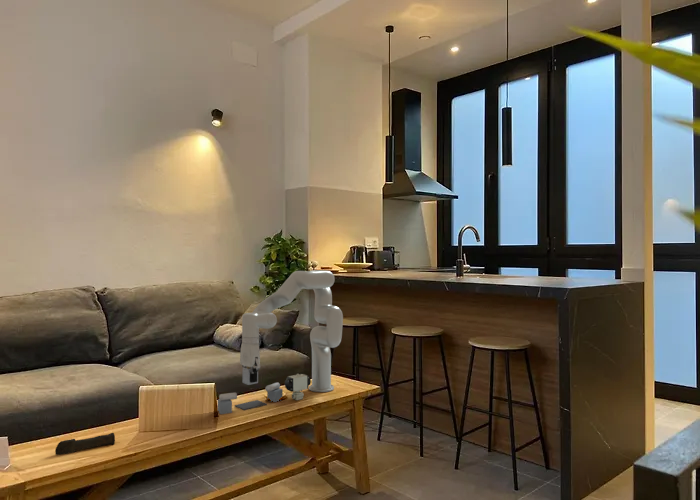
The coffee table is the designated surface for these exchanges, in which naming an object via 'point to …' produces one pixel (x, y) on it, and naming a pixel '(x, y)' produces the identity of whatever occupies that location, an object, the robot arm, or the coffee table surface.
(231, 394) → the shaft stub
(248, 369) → the block
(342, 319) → the robot arm
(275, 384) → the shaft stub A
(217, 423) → the coffee table surface
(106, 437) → the hand tool
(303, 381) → the pneumatic valve
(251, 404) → the pad
